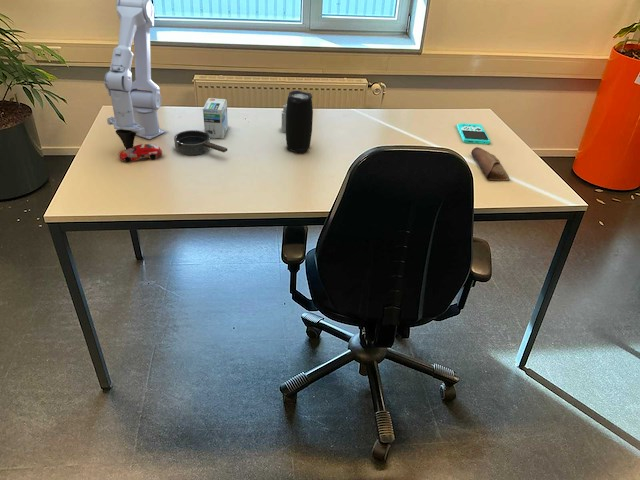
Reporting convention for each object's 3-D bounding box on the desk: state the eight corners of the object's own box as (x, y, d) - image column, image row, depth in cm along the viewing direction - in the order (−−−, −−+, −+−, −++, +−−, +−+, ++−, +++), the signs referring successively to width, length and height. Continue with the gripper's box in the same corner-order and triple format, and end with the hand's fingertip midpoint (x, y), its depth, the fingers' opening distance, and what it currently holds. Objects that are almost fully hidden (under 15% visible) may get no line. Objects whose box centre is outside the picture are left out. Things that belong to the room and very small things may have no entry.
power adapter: (296, 132, 193) (297, 101, 186) (281, 132, 192) (281, 100, 185) (296, 129, 195) (297, 98, 188) (281, 128, 195) (282, 97, 188)
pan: (168, 149, 175) (166, 138, 173) (191, 138, 184) (190, 127, 182) (194, 159, 171) (193, 148, 169) (217, 146, 179) (216, 136, 177)
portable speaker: (315, 147, 184) (318, 92, 172) (302, 157, 177) (304, 101, 165) (293, 141, 186) (295, 87, 175) (280, 151, 180) (281, 95, 168)
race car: (120, 163, 166) (117, 152, 164) (119, 156, 170) (117, 144, 168) (162, 159, 170) (161, 147, 168) (161, 151, 174) (159, 140, 172)
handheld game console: (481, 127, 207) (482, 123, 206) (490, 144, 194) (491, 141, 193) (455, 125, 207) (456, 122, 206) (463, 142, 194) (464, 139, 193)
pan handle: (203, 145, 173) (203, 143, 172) (207, 143, 174) (207, 141, 174) (224, 152, 170) (223, 150, 169) (227, 150, 171) (227, 148, 170)
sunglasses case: (511, 179, 171) (506, 163, 167) (491, 188, 172) (485, 173, 169) (493, 154, 186) (487, 139, 182) (474, 163, 187) (468, 148, 183)
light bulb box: (223, 139, 185) (221, 109, 178) (204, 137, 185) (202, 108, 178) (228, 126, 193) (227, 98, 187) (210, 125, 193) (208, 97, 187)
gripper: (96, 108, 163) (104, 148, 171) (130, 119, 157) (136, 160, 165) (114, 101, 168) (121, 140, 176) (147, 112, 162) (153, 152, 170)
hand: (129, 149), depth 171 cm, fingers closed
